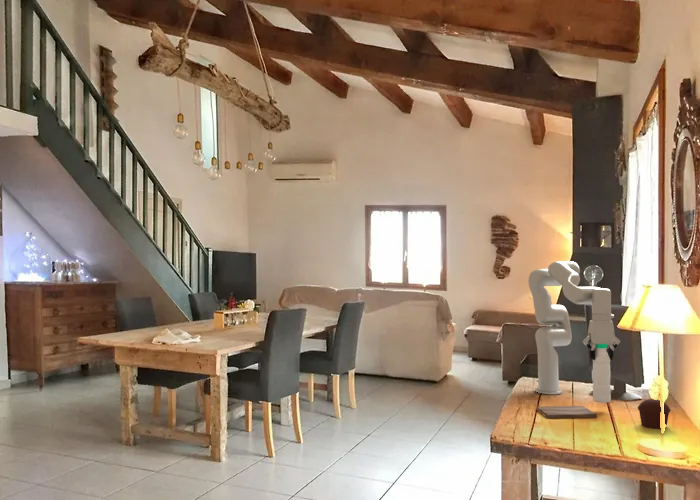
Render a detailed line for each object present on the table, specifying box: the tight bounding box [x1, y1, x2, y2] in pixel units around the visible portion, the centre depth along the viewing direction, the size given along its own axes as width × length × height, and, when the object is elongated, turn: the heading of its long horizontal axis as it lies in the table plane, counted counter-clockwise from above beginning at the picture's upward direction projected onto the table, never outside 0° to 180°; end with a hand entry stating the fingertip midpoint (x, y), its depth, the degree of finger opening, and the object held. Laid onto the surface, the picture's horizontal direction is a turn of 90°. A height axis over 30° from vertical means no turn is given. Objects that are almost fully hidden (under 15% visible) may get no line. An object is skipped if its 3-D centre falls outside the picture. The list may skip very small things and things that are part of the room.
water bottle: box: [592, 344, 612, 404], centre depth 261 cm, size 7×7×25 cm
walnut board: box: [536, 405, 598, 419], centre depth 257 cm, size 14×20×2 cm
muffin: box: [637, 398, 672, 430], centre depth 238 cm, size 12×11×10 cm
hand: (601, 359), depth 261 cm, fingers closed on water bottle, 6 cm apart
